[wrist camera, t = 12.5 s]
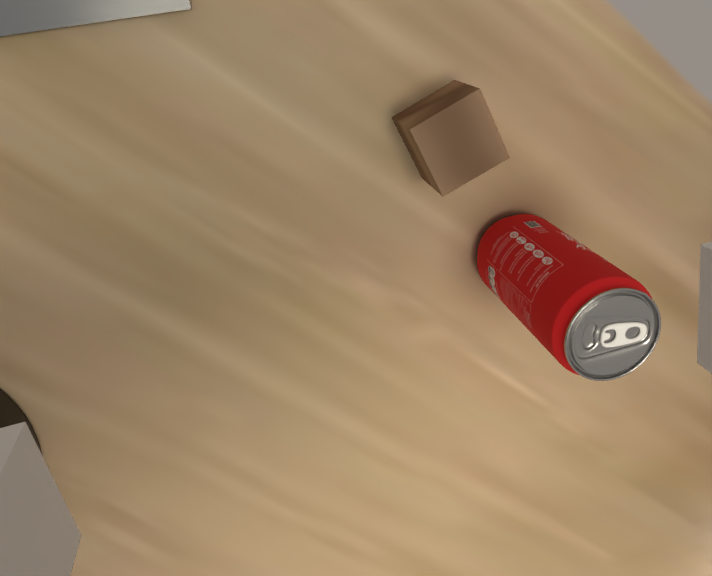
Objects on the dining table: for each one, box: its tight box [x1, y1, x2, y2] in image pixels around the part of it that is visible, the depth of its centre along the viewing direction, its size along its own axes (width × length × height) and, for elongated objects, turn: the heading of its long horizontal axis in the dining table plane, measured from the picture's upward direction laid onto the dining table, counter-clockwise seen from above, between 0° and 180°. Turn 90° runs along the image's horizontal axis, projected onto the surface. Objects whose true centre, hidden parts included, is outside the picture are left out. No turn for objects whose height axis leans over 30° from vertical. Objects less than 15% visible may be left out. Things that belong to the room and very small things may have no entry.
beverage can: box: [477, 214, 661, 381], centre depth 36 cm, size 5×5×12 cm
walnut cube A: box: [392, 80, 510, 196], centre depth 36 cm, size 4×4×4 cm
